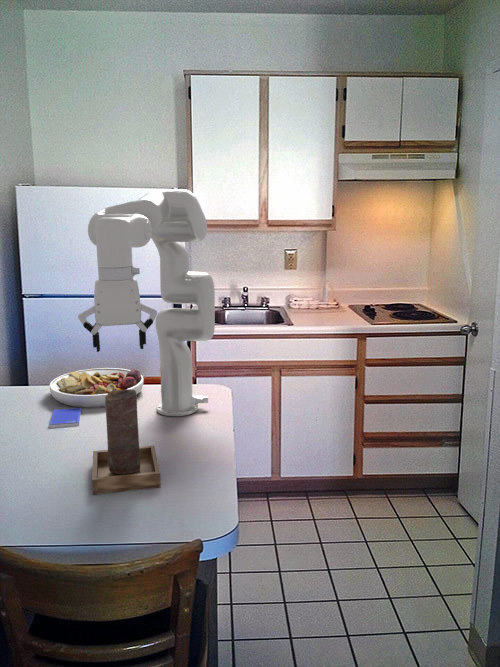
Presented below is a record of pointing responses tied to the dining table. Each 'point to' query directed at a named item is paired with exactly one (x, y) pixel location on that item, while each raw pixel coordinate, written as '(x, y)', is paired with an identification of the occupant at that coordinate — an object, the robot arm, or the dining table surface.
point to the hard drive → (65, 417)
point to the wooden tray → (133, 481)
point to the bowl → (93, 385)
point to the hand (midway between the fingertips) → (120, 348)
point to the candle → (122, 431)
